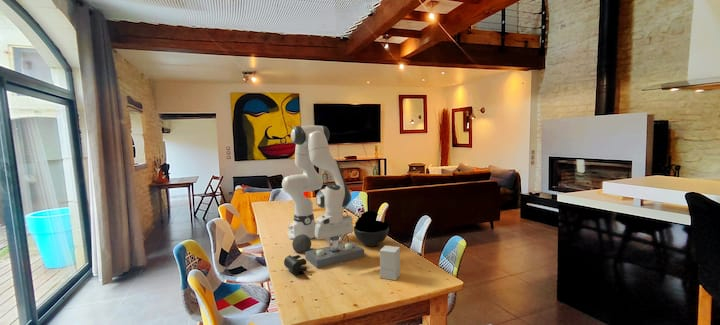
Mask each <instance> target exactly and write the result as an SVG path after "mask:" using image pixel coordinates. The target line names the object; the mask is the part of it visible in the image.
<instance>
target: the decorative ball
mask: <svg viewBox="0 0 720 325" xmlns="http://www.w3.org/2000/svg"><path fill="white" fill-rule="evenodd" d="M311 246H312V240H311V239H310V238H309V237H308V236H307V235H304V234H300V235H298V236H296V237H295V238H294V239H292V250H293V251H295V252H296V253H300V254H301V253H302V254H305V252H306V251H310V249H311Z"/></svg>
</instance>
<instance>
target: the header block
mask: <svg viewBox="0 0 720 325" xmlns="http://www.w3.org/2000/svg"><path fill="white" fill-rule="evenodd" d="M342 244H343V247H342ZM304 254H305V258H304V259H305V260H306V261H308V262H309V264H311V265H312V266H314V267H315V268H316V269H320V268H324V267H328V266H333V265H336V264H340V263H345V262H348V261H352V260H356V259H361V258H365V249H364V248H362V247H360V246H359V245H356V243H354V242H352V241H348V242H344V243H341V244H339V252H334V253H332V252H331V246H326V247H325V246H324V247H321V248H320V247H319V248H316V249H312V250H310V249H309V250H308V251H306V252H304Z"/></svg>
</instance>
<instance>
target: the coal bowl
mask: <svg viewBox="0 0 720 325" xmlns="http://www.w3.org/2000/svg"><path fill="white" fill-rule="evenodd" d="M378 216H379V213H377V212H376V211H373V210H368V211H367V210H366V211H365V212H363V213H361V215H360V217H358V218H357V220H356V221H355V223H354V224H355V225H353V233H354V236H355V237H356V239H357V240H358V241H359V242H360V243H362V244H363V245H366V246H370V247H371V246H377V245H379V244H382V242H384V241H385V240H386V238H387V236H388V234H389V230H390V227H389V223H388V221H386V220H385V221H382V220H377V217H378Z"/></svg>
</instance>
